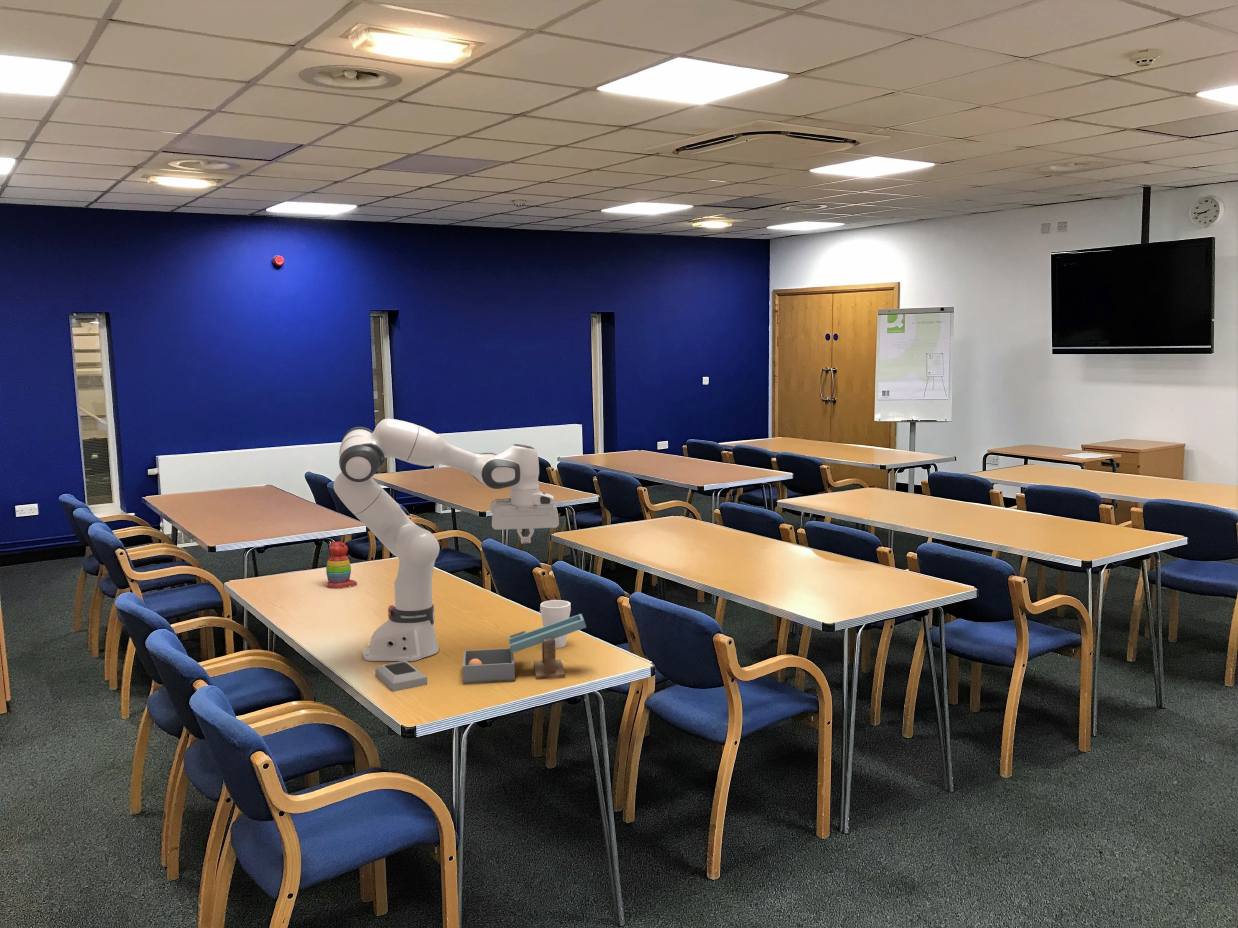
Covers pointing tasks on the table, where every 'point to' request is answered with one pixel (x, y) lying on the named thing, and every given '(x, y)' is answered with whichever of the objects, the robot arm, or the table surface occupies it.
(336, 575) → the stacking bear
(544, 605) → the foam cup
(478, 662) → the ball
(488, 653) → the tray
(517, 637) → the chute lever
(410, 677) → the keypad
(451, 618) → the table surface
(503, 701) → the table surface
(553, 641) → the pivot stand
